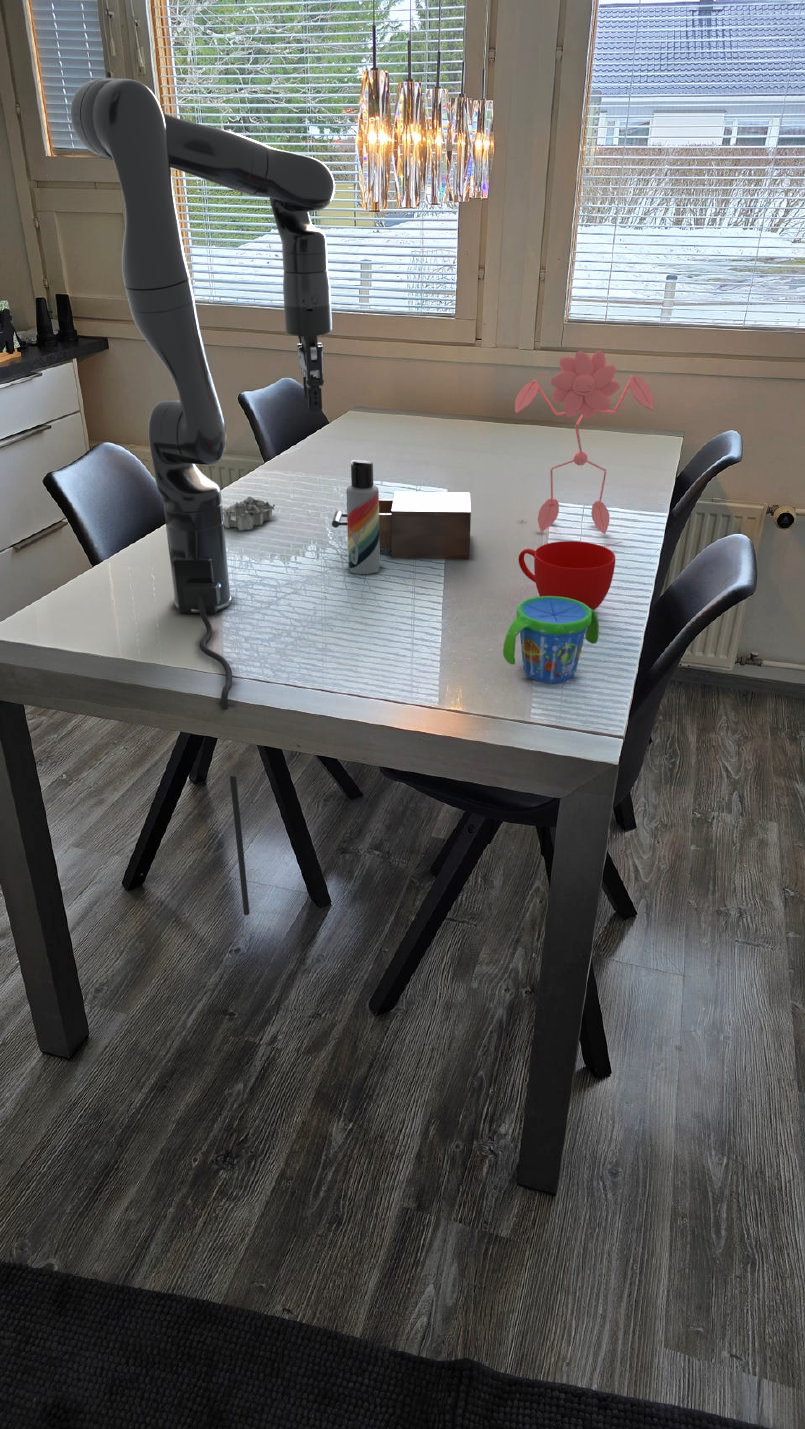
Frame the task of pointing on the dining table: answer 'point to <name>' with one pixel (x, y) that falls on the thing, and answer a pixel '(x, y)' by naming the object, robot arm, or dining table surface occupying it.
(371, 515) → the lotion bottle
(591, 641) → the snack cup
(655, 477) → the dining table surface
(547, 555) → the ceramic cup
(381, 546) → the drawer
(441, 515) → the cabinet
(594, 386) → the figurine
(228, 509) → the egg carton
